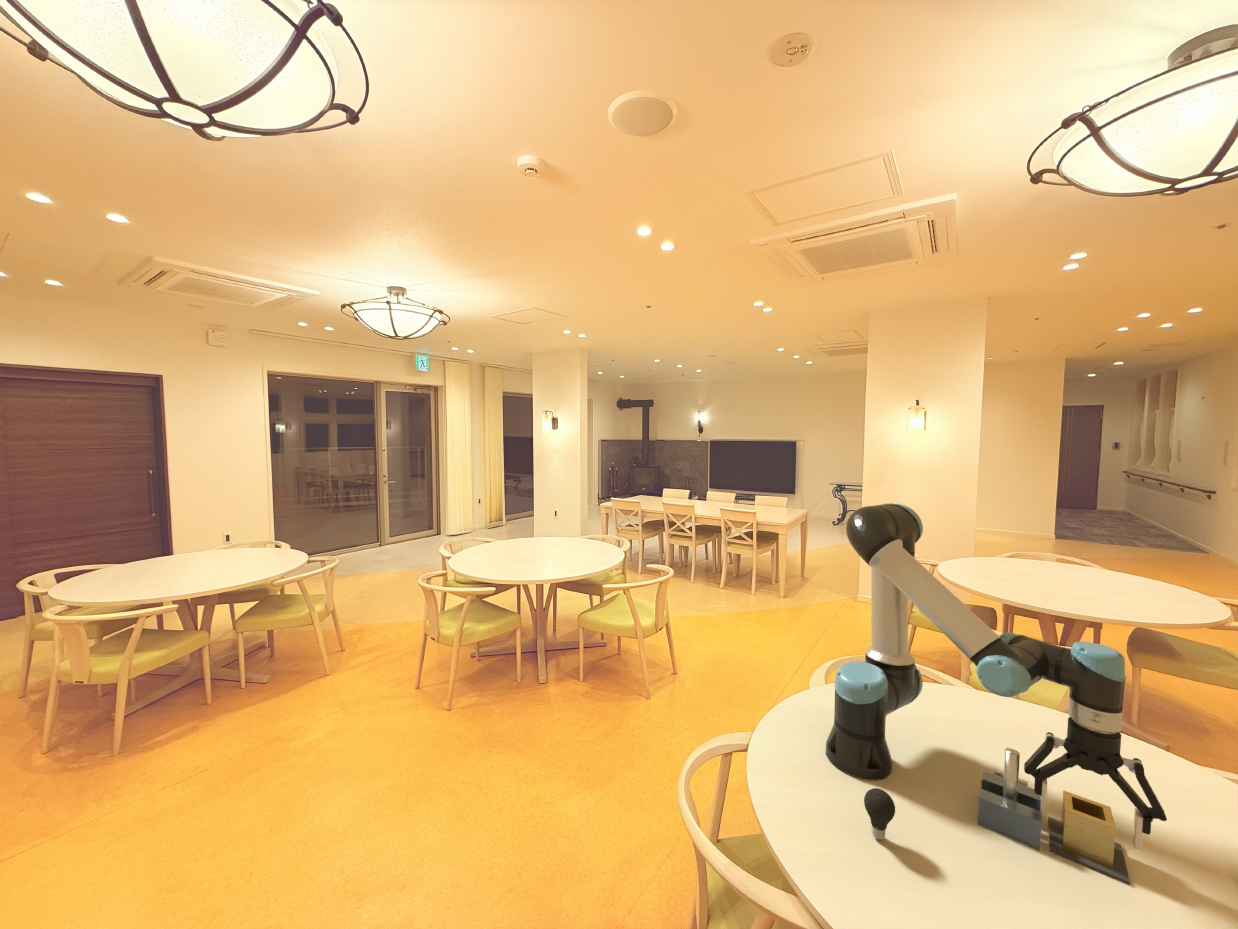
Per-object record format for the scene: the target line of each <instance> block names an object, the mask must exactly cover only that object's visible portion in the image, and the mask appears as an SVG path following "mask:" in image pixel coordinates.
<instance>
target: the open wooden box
mask: <svg viewBox="0 0 1238 929" xmlns="http://www.w3.org/2000/svg"><path fill="white" fill-rule="evenodd" d="M1061 806H1062V807H1061V818H1060V819H1061V820H1060V821H1061V833H1062V844H1063V848H1064V849H1066V850H1069V851H1071V852H1074V853H1076V854H1079V855H1081V856H1083V857H1086V858H1088V859H1091V860H1093V861H1096V862H1098V863H1101V864H1103V865H1105V866H1108V867H1110V868H1113V859H1114V844H1115V842H1116V825H1115V821H1114V816H1113V812H1112V808H1111V806H1109V805H1106V804H1105V803H1104V804H1103V803H1101V802H1098V801H1095V800H1093V799H1089V798H1087V797H1084V796H1080V795H1077V794H1075V793H1072V792H1069V791H1066V790H1062V803H1061Z"/></svg>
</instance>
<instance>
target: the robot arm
mask: <svg viewBox="0 0 1238 929" xmlns="http://www.w3.org/2000/svg"><path fill="white" fill-rule="evenodd" d="M923 531H924V526H923V522H922V519H921V518H920V516H919V514H918V513H917V512H915V510H913V509H912V508H911V507H909V506H907V505H905V504H902V503H901V504H900V503H883V504H877V505H875V504H874V505H866V506H863V507H859V508H858V509H856V510H855V511H853V512H852V513H851V514H850V515H849V517H848V519H847V522H846V525H845V532H846V536H847V539H848V542H849V544H850V545H851V546H852V548H853V549H854V551H855V552H856V553H857V555H858V556H859V557H860V558H861V559H862V560H863V561H864V562H865V563H866V564H867V565H868V566H869V567H870V568H871V577H870V578H871V645H870V646H869V647H867V648H866V649H865V652H864V656H865V657H864V658H865V659H864V660H865V661H857V662H855V661H848V662H845V663H843V664H841V665H840V666H839V667H838V669H837V670H836V675H835V680H834V716H833V720H834V721H833V725H832V727H831V729H830V732H829V734H828V736H827V739H826V743H825V755H826V758H827V759H828V760H829V762H830V763H831V764H832V765H833V766H834V767H836V768H837V769H839V771H842V772H844V773H845V774H847V775H849V776H852V777H855V778H858V779H861V780H867V781H880V780H884V779H886V778H888V777H889V776H890V775H891V774H892V770H893V769H892V768H893V759H892V756H891V752H890V750H889V749H890V748H889V746H888V743H887V739H886V721H887V720H886V717H887V716H888V715H890V714H891V713H893V712H895V711H897V710H899V709H901V708H903V707H904V706H908V705H910V704H912V703H913V702H914V701H915V700H916V699H917V698H918V697H919V696H920V695H921V693H922V690H923V686H924V685H923V682H924V681H923V676H922V674H921V670H919V669H918V668H917V665H916V664H915V663H916V662H915V661H916V660H915V657H914V656H913V655H912V654H911V653H910V651H909V601H911V603H913V604H914V605H915V607H916V608H917V609H918V610H919V611H921V613H922V614H923V615H924V616H925V617H926V618H927V619H929V620H930V621H931V622H932V624H934V625H935V626H936V627H937V628H938V629H939V630H940V631H941V632H942V633H943V635H945V636H946V637H947V639H948V640H950V641H951V642H952V643H953V644H954V645H955V646H956V647H957V649H959V650H960V651H961V652H962V653H963V654H964V655H965V656H966V657H967V658H968V659H969V660H970V661H971V662H972V664H974V666H976V675H977V678H978V680H979V682H980V684H981V685H982V686H983V687H984V688H985V689H986V690H987V691H989V692H991V693H992V694H994V695H996V696H999V697H1003V698H1004V697H1005V698H1010V697H1015V696H1018V695H1020V694H1021V693H1023V694H1024V693H1025V692H1027V691H1028V690H1029V689H1030V688H1031V687H1032V686H1033V685H1035V684H1036V683H1038V682H1039V681H1041V680H1045V681H1048V682H1052V683H1054V684H1058V685H1061V686H1065V687H1067V688H1069V696H1068V698H1069V699H1068V710H1067V711H1068V712H1067V713H1068V718H1067V731H1066V737H1065V739H1062V738H1060V737H1057V736H1055V735H1054V733H1052V732H1049V731H1048V732H1046V734H1045V738H1044V741H1043V742H1042V744H1041V745H1040V746H1039V747H1038V748H1036V750H1035V752H1034V753H1032V755H1030V757H1029V758H1028V759H1026V761H1025V762H1024V764H1023V765H1024V766H1023V770H1024V773H1025V774H1027V775H1030V776H1032V778H1033V779H1034V787H1033V789H1034V791H1035V794H1038V795H1041V808H1040V811H1041V815H1045V816H1046V813H1047V801H1048V800H1047V799H1048V798H1047V795H1048V794H1047V793H1048V779H1050V778H1051V777H1053V776H1055V775H1057V774H1058V773H1061V772H1063V771H1064V770H1067V769H1071V768H1074V767H1076V766H1078V767H1079V768H1080V769H1082V770H1085V771H1089V772H1091V771H1092V772H1093V773H1095V774H1097V775H1100V776H1104V775H1106V776H1107V775H1108V777H1109V778H1110V779H1111V780H1112V781H1113V783H1115V784H1116V785H1117V786H1118V787H1119V789H1120V790H1121V791H1122V793H1124V795H1125V796H1126V797H1127V798H1128V799H1129V801H1130V802H1131V803H1132V804H1133V806H1134V807H1135V808H1134V812H1133V814H1134V816H1133V827H1132V828H1133V830H1132V842H1133V847H1134V850H1135V851H1139V852H1141V851H1142V841H1143V834H1145V835H1148V836H1149V835H1150V834H1151V833H1152V832H1151V830H1152V828H1151V827H1152V822H1153V821H1154V819H1155V820H1160V821H1161V822H1166V821H1167V820H1168V819H1167V815H1166V813H1165V811H1164V808H1163V806H1162V805H1161V803H1160V800H1159V799H1158V798H1157V795H1156V794H1155V792H1154V789H1153V788H1152V786H1151V785H1150V783H1149V780H1148V779H1147V777H1146V774H1145V767H1144V764H1143V763H1142V760H1141V759H1139V758H1137V757H1134V758H1132V759H1131V758H1126V757H1122V755H1121V745H1122V733H1121V731H1122V729H1123V728H1122V727H1123V710H1124V697H1125V686H1126V680H1127V676H1126V665H1125V664H1126V663H1125V662H1126V660H1125V657H1124V655H1123V654H1122V653H1121V652H1119V651H1118V650H1117V649H1114V648H1113V647H1110V646H1107V645H1104V644H1100V643H1094V642H1090V641H1076V642H1074V643H1073V644H1072V647H1071V648H1069V647H1068V648H1067V647H1064V646H1061V645H1057V644H1053V643H1050V642H1046V641H1043V640H1039V639H1036V638H1033V637H1029V636H1028V635H1024V634H1016V633H1013V632H1010V631H1009V632H1008V631H1007V632H1003V633H1001V634H1000V635H999V634H997V632H995V631H994V630H992V628H991V627H989V625H988V624H986V623H985V622H984V621H983V620H982V619H981V617H980V618H979V616H978V615H977V614H976V613H975V612H973V611H972V610H971V609H970V608H969V607H968V606H967V605H966V604H965V603H964V602H963V601H961V600H960V599H959V598H958V597H957V596H956V595H955V594H954V593H953V592H952V591H951V590H949V589H948V588H947V587H946V586H945V585H944V584H943V583H942V582H941V581H940V580H939V579H937V578H936V577H935V576H934V575H933V574H932V573H931V572H930V571H929V570H928V569H926V567H924V566H923V564H921V563H920V562H919V560H917V559H916V556H915V555H916V551H915V550H916V548H915V547H916V544H917V542H918V541H919V540H920V539H921V537H922V536H923ZM1060 747H1064V749H1065V751H1066V752H1064V754H1062V755H1061V756H1060V757H1058V758H1055V759H1054V760H1052V761H1050V762H1048V763H1046V764H1044V765H1042V766H1040V765H1041V764H1042V763H1043V762H1044V761H1045V759H1046V758H1048V756H1049V755H1050V754H1051V753H1052V752H1053V749H1058V748H1060ZM1039 766H1040V767H1039ZM1123 766H1125V767H1126V768H1127V769H1128V771H1129V772H1131V773H1133V774H1134V775H1135V778H1136V780H1137V782H1138V785H1140V788H1141V789H1142V791H1143V793H1144V795H1145V797H1146V798H1147V800H1148V802H1149V805H1150V807H1149V806H1148V805H1147V803H1146V802H1144V800H1143V799H1142V798H1141V796H1139V794H1138V793H1137V792H1136V791H1135V790H1134V788H1133V787H1132V786H1131V785H1130V783H1129V782H1128V781H1127V780H1126V778H1124V777H1123V775H1122V774H1121V772H1120V771H1119V769H1120V768H1121V767H1123Z"/></svg>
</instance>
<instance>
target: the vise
mask: <svg viewBox="0 0 1238 929" xmlns="http://www.w3.org/2000/svg"><path fill="white" fill-rule="evenodd" d="M1004 752H1005V753H1004V764H1003V765H1004V766H1003V767H1004V769H1003V770H1004V771H1003V772H1002V771H998V770H995V769H994V773H991V772H988V771H985V770H982V775H981V782H980V783H981V788H979V796H978V812H977V813H978V815H977V816H978V817H977V825H978V826H981V827H982V828H985V829H988V830H990V831H992V832H995V833H997V834H998V835H999V834H1000V835H1001V836H1004V837H1006V838H1009V839H1012V840H1014V841H1016V842H1019V843H1021V844H1023V845H1025V846H1028V847H1031V848H1033V849H1035V850H1038V851H1039V852H1040V851H1041V845H1042V844H1041V840H1042V839H1041V838H1042V826H1043V825H1042V824H1043V823H1042V822H1043V819H1042V815H1043V814H1042V813H1041V795H1038V794H1035V791H1034V788H1033V787H1029V786H1028V785H1029V782H1028V781H1026V780H1024V779H1022V778H1021V779H1020V778H1019V776H1020V774H1019V773H1020V772H1019V771H1020V756H1021V753H1020V752H1019V751H1018V750H1016V749H1014V748H1011V747H1006V748H1005V750H1004Z"/></svg>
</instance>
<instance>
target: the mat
mask: <svg viewBox="0 0 1238 929" xmlns="http://www.w3.org/2000/svg"><path fill="white" fill-rule="evenodd" d="M1047 824H1048V839H1049V840H1048V843H1049V852H1050V853H1052V854H1054V855H1057V856H1059V857H1061V858H1064V859H1066V860H1068V861H1071V862H1073V863H1076V864H1078V865H1081V866H1082V867H1086V868H1088V869H1091V870H1092V871H1095V872H1097V873H1100V874H1102V875H1105V876H1106V877H1109V878H1111V879H1114V880H1116V881H1119V882H1122V884H1126V885H1128V886H1130V885H1131V881H1130V880H1131V879H1130V877H1129V876H1130V875H1129V872H1128V871H1129V870H1128V867H1127V863H1126V858H1125V855H1124V851H1123V846H1122V844H1121V843H1119V842H1116V841H1115V844H1114V859H1113V868H1110V867H1108V866H1105V865H1103V864H1101V863H1098V862H1096V861H1093V860H1091V859H1088V858H1086V857H1083V856H1081V855H1079V854H1076V853H1074V852H1071V851H1069V850H1066V849H1064V848H1063V844H1062V833H1061V820H1059V819H1057V818H1053V817H1051V816H1047Z"/></svg>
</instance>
